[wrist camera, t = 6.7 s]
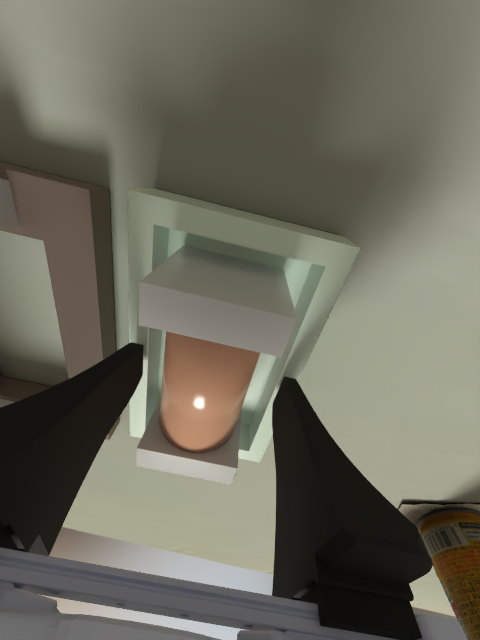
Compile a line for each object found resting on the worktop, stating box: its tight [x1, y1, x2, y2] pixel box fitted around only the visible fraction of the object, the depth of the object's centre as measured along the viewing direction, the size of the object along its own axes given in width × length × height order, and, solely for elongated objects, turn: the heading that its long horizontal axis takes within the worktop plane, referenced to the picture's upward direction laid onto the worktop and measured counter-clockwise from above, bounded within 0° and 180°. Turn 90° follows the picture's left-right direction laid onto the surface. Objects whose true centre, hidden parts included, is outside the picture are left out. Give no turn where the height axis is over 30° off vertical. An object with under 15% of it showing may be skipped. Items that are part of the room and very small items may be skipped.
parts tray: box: [128, 188, 361, 462], centre depth 14 cm, size 15×9×2 cm, turn 167°
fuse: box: [137, 245, 297, 485], centre depth 12 cm, size 10×5×5 cm, turn 167°
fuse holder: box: [0, 162, 119, 440], centre depth 14 cm, size 17×11×4 cm, turn 167°
